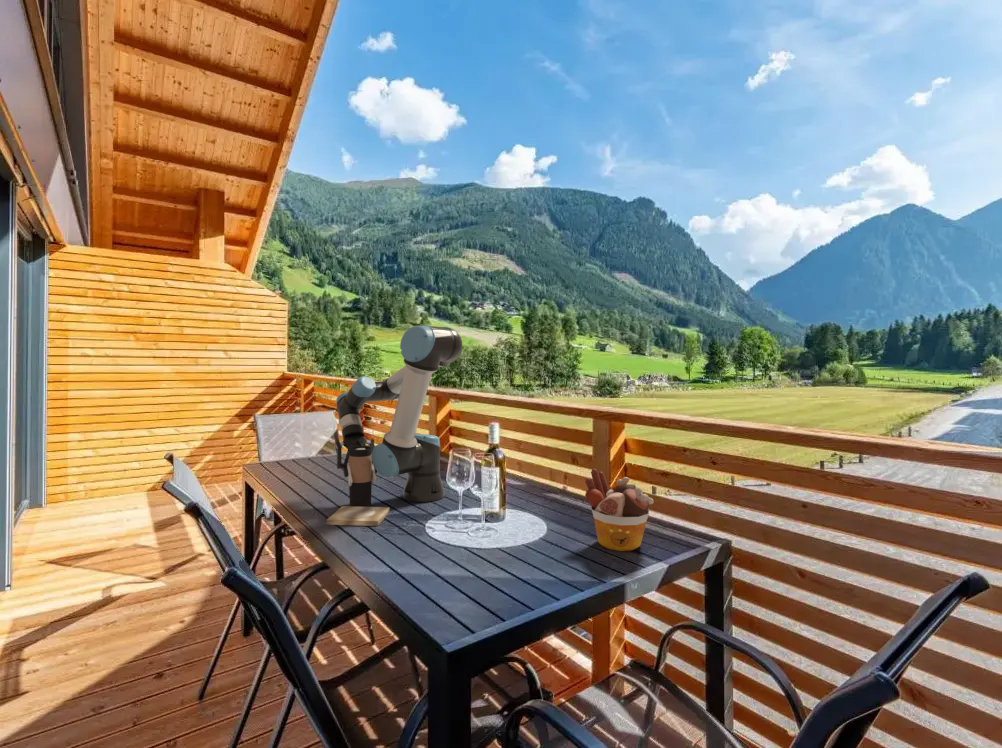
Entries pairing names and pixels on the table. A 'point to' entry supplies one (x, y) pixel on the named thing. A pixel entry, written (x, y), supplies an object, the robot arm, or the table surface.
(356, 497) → the travel mug
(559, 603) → the table surface
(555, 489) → the table surface
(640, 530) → the bucket of meat
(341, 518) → the coaster board
